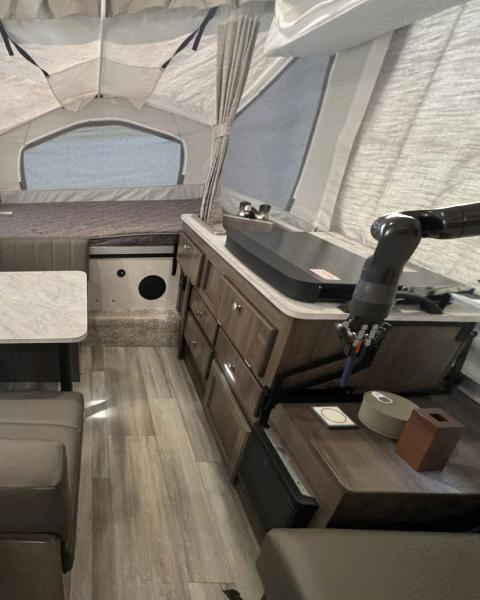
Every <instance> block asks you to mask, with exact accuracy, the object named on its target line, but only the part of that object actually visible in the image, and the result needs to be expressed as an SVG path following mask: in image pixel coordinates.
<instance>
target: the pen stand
mask: <svg viewBox="0 0 480 600" xmlns="http://www.w3.org/2000/svg"><path fill="white" fill-rule="evenodd" d="M466 429H467V426H466V425H465V424H463V423H462V422H460V421H459V420H457V419H456V418H454V417H453V416H451V414H448V413H447V412H446V411H444V410H442V409H441V408H440V407H428V408H427V407H425V408H421V407H420V409H413V410H412V413H411V415H410V417H409V419H408V421H407V423H406V426H405V428H404V430H403V432H402V434H401V436H400V439H399V440H398V441H397V443H396V445H395V447H394V450H393V452H394V453H395V454H396V455H398V457H400V458H401V460H402V461H404V462H405V463H406V464H407V465H408V466H410V468H412V470H413V471H415V472H417V473H418V472H419V473H420V472H443V470H444V468H445V467H446V465H447V463H448V462H449V460H450V458H451V456H452V454H453V453H454V451H455V449H456V447H457V445H458V443H459V442H460V440H461V438H462V437H463V434H464V433H465V432H466Z"/></svg>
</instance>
